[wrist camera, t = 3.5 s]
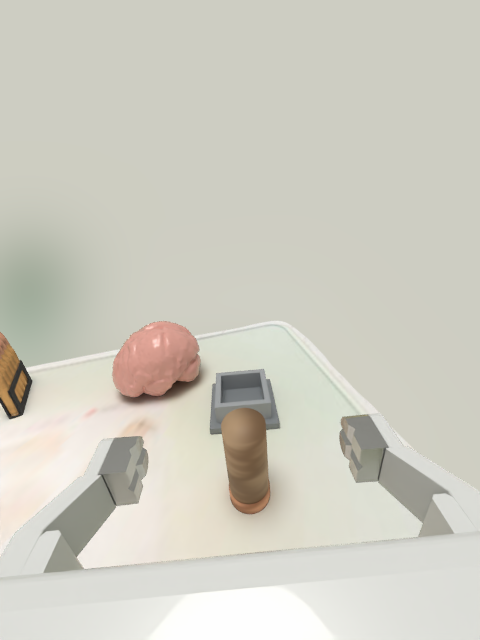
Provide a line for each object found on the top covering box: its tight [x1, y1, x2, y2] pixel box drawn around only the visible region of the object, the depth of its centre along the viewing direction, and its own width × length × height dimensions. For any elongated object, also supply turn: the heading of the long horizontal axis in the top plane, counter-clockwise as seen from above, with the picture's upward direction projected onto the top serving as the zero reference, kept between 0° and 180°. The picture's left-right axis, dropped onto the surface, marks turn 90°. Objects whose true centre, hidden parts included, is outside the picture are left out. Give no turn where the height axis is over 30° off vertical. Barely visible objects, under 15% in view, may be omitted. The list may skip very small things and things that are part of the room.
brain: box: [112, 321, 200, 397], centre depth 51 cm, size 16×13×12 cm
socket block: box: [210, 369, 279, 434], centre depth 44 cm, size 10×10×4 cm
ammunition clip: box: [0, 332, 32, 419], centre depth 48 cm, size 11×2×12 cm, turn 27°
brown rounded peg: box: [221, 408, 270, 514], centre depth 30 cm, size 5×5×11 cm
